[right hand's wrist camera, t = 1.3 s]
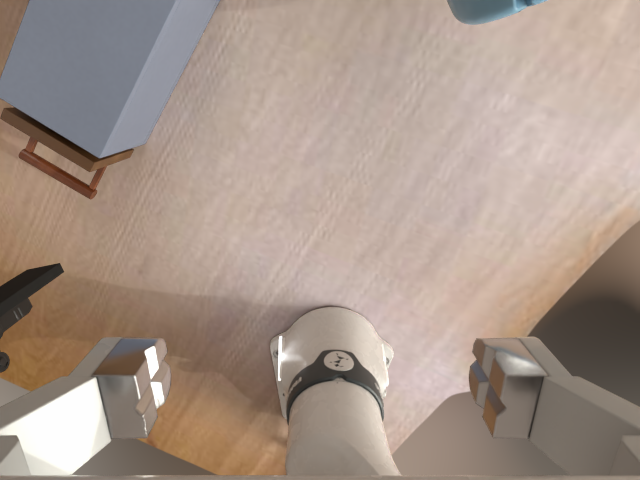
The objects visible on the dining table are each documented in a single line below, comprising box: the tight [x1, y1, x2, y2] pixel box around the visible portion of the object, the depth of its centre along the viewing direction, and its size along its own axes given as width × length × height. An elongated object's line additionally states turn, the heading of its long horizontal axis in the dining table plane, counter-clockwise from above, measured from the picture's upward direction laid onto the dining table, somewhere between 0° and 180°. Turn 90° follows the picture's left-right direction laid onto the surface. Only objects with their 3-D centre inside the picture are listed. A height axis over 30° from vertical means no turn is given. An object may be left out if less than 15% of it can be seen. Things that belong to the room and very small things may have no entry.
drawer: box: [0, 107, 134, 199], centre depth 43 cm, size 24×10×10 cm, turn 146°
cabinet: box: [0, 0, 220, 158], centre depth 42 cm, size 20×11×11 cm, turn 146°
